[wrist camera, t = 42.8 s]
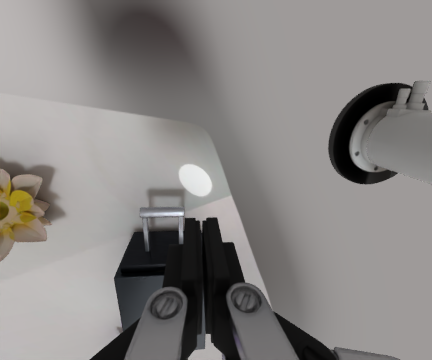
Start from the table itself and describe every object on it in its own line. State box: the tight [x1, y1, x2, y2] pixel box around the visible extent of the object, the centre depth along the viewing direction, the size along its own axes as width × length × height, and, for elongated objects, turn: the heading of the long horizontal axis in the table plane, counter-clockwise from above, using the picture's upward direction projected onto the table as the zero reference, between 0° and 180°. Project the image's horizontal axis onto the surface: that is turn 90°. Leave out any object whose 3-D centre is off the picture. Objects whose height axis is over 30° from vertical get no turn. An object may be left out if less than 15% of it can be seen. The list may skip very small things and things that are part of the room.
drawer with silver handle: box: [120, 207, 202, 273], centre depth 34 cm, size 23×11×8 cm, turn 178°
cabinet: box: [114, 233, 206, 350], centre depth 36 cm, size 17×13×10 cm
